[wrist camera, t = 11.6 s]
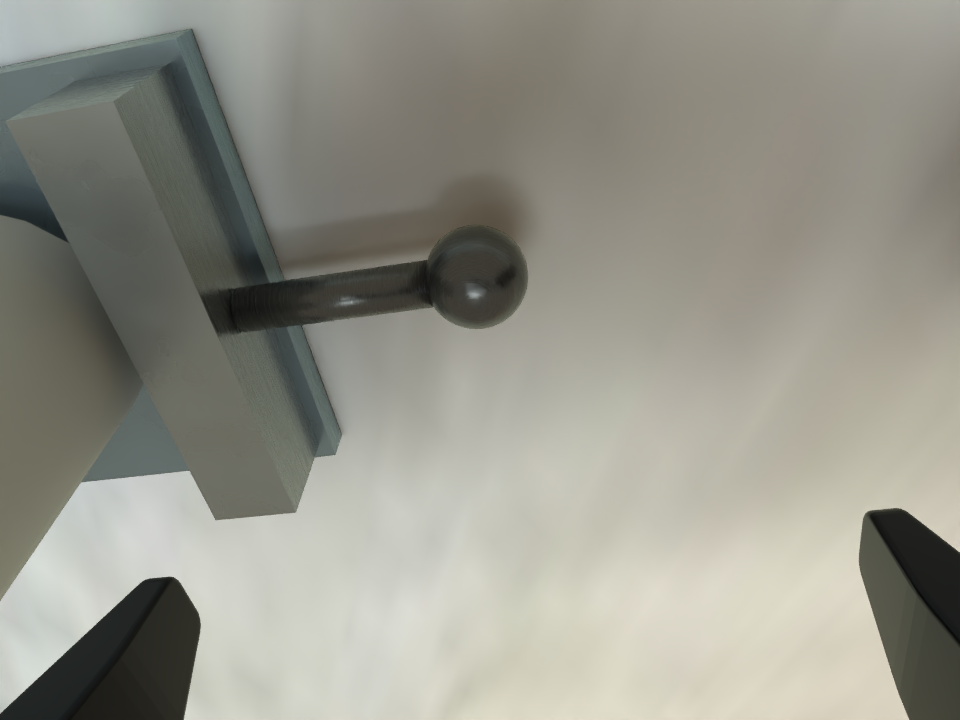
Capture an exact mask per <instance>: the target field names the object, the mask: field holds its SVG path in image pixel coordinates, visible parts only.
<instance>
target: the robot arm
mask: <svg viewBox="0 0 960 720" xmlns="http://www.w3.org/2000/svg"><path fill="white" fill-rule="evenodd" d="M859 566H860V571H861V575H862V579H863V582H864V585H865V588H866V592H867V595H868V598H869V601H870V605H871V608H872V611H873V614H874V617H875V621H876V624H877V627H878V630H879V633H880V637H881V640H882V643H883V646H884V649H885V653H886V656H887V659H888V662H889V665H890V669H891V672H892V675H893V678H894V681H895V684H896V687H897V690H898V693H899V696H900V698H901V701H902V703H903V705H904V708H905V710H906V713H907V715H908V717H909V720H960V552H958V551H957V550H956V549H955V548H953V547H952V546H951V545H949V544H948V543H947V542H945V541H944V540H943V539H942V538H940V537H939V536H938V535H936V534H935V533H934V532H933V531H931V530H930V529H929V528H927V527H926V526H925V525H924V524H922V523H921V522H920V521H918V520H917V519H916V518H914V517H913V516H912V515H911V514H909V513H908V512H906V511H905V510H902V509H899V508H892V509H882V510H871V511H868V512H867V513H866V514H865V515H864V518H863V524H862V533H861V542H860V550H859ZM200 627H201V623H200V617H199V614H198V612H197V610H196V608H195V606H194V605H193V603H192V601H191V600H190V598H189V596H188V595H187V593H186V592H185V590H184V588H183V587H182V585H181V583H180V582H179V581H178V580H177V579H175V578H174V577H162V578H151V579H147V580H145V581H143V582H141V583H140V584H139V585H138V586H137V587H136V588H135V589H134V590H132V591H131V592H130V593H129V594H128V595H127V596H126V597H125V598H124V599H123V600H122V601H121V602H120V603H119V604H117V605H116V606H115V607H114V608H113V609H112V610H111V611H110V612H109V613H108V614H107V615H106V616H105V617H103V618H102V619H101V620H100V621H99V622H98V623H97V624H96V625H95V626H94V627H93V628H92V629H91V630H90V631H88V632H87V633H86V634H85V635H84V636H83V637H82V638H81V639H80V640H79V641H78V642H77V643H76V644H75V645H73V646H72V647H71V648H70V649H69V650H68V651H67V652H66V653H65V654H64V655H63V656H62V657H61V658H60V659H58V660H57V661H56V662H55V663H54V664H53V665H52V666H51V667H50V668H49V669H48V670H47V671H46V672H44V673H43V674H42V675H41V676H40V677H39V678H38V679H37V680H36V681H35V682H34V683H33V684H32V685H31V686H29V687H28V688H27V689H26V690H25V691H24V692H23V693H22V694H21V695H20V696H19V697H18V698H17V699H16V700H14V701H13V702H12V703H11V704H10V705H9V706H8V707H7V708H6V709H5V710H4V711H3V712H2V713H1V714H0V720H184V715H185V710H186V705H187V699H188V694H189V689H190V683H191V678H192V673H193V667H194V662H195V657H196V651H197V646H198V641H199V635H200Z"/></svg>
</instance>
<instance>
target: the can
mask: <svg viewBox="0 0 960 720" xmlns="http://www.w3.org/2000/svg"><path fill="white" fill-rule="evenodd" d="M143 384H144V383H143V381H142V379H141V378H140V376H139V374H138V372H137V370H136V368H135V366H134V364H133V362H132V361H131V359H130V357H129V355H128V353H127V351H126V349H125V347H124V345H123V343H122V342H121V340H120V338H119V336H118V334H117V332H116V330H115V328H114V326H113V325H112V323H111V321H110V319H109V317H108V315H107V313H106V311H105V309H104V307H103V306H102V304H101V302H100V300H99V298H98V296H97V294H96V292H95V290H94V289H93V287H92V285H91V283H90V281H89V279H88V277H87V275H86V273H85V271H84V270H83V268H82V266H81V264H80V262H79V260H78V258H77V256H76V254H75V253H74V251H73V249H72V247H71V245H70V244H69V243H67V242H65V241H63V240H62V239H60V238H58V237H56V236H54V235H52V234H50V233H48V232H46V231H44V230H42V229H40V228H38V227H36V226H34V225H32V224H30V223H28V222H27V221H23V220H19V219H15V218H11V217H7V216H3V215H0V601H1V599H2V598H3V596H4V595H5V593H6V592H7V590H8V589H9V587H10V586H11V584H12V583H13V581H14V580H15V578H16V577H17V576H18V574H19V573H20V571H21V570H22V568H23V567H24V565H25V564H26V562H27V561H28V559H29V558H30V556H31V555H32V553H33V552H34V551H35V549H36V548H37V546H38V545H39V543H40V542H41V540H42V539H43V537H44V536H45V534H46V533H47V531H48V530H49V528H50V527H51V525H52V524H53V523H54V521H55V520H56V518H57V517H58V515H59V514H60V512H61V511H62V509H63V508H64V506H65V505H66V503H67V502H68V500H69V499H70V498H71V496H72V495H73V493H74V492H75V490H76V489H77V487H78V486H79V484H80V483H81V481H82V480H83V478H84V477H85V475H86V474H87V473H88V471H89V470H90V468H91V467H92V465H93V464H94V462H95V461H96V459H97V458H98V456H99V455H100V453H101V452H102V450H103V449H104V448H105V446H106V445H107V443H108V442H109V440H110V439H111V437H112V436H113V434H114V433H115V431H116V430H117V428H118V427H119V425H120V424H121V423H122V421H123V420H124V418H125V417H126V415H127V414H128V412H129V411H130V409H131V408H132V406H133V405H134V403H135V401H136V399H137V397H138V395H139V393H140V391H141V388H142V386H143Z"/></svg>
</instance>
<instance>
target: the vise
mask: <svg viewBox="0 0 960 720" xmlns="http://www.w3.org/2000/svg"><path fill="white" fill-rule="evenodd" d="M0 215H3V216H7V217H11V218H15V219H19V220H23V221H27V222H28V223H30V224H32V225H34V226H36V227H38V228H40V229H42V230H44V231H46V232H48V233H50V234H52V235H54V236H56V237H58V238H60V239H62V240H63V241H65V242H67V243H69V244H70V245H71V247H72V249H73V251H74V253H75V254H76V256H77V258H78V260H79V262H80V264H81V266H82V268H83V270H84V271H85V273H86V275H87V277H88V279H89V281H90V283H91V285H92V287H93V289H94V290H95V292H96V294H97V296H98V298H99V300H100V302H101V304H102V306H103V307H104V309H105V311H106V313H107V315H108V317H109V319H110V321H111V323H112V325H113V326H114V328H115V330H116V332H117V334H118V336H119V338H120V340H121V342H122V343H123V345H124V347H125V349H126V351H127V353H128V355H129V357H130V359H131V361H132V362H133V364H134V366H135V368H136V370H137V372H138V374H139V376H140V378H141V379H142V381H143V383H144V384H143V386H142V388H141V391H140V393H139V395H138V397H137V399H136V401H135V403H134V405H133V406H132V408H131V409H130V411H129V412H128V414H127V415H126V417H125V418H124V420H123V421H122V423H121V424H120V425H119V427H118V428H117V430H116V431H115V433H114V434H113V436H112V437H111V439H110V440H109V442H108V443H107V445H106V446H105V448H104V449H103V450H102V452H101V453H100V455H99V456H98V458H97V459H96V461H95V462H94V464H93V465H92V467H91V468H90V470H89V471H88V473H87V474H86V475H85V477H84V478H83V480H82V481H81V482H88V481H97V480H106V479H116V478H125V477H134V476H144V475H153V474H162V473H171V472H181V471H190V472H191V474H192V476H193V478H194V480H195V482H196V484H197V486H198V487H199V489H200V491H201V493H202V495H203V497H204V499H205V501H206V503H207V504H208V506H209V508H210V510H211V512H212V514H213V516H214V518H215V520H223V519H233V518H243V517H254V516H264V515H274V514H285V513H295V512H296V511H297V508H298V505H299V502H300V499H301V496H302V493H303V490H304V487H305V484H306V481H307V478H308V476H309V473H310V470H311V467H312V464H313V461H314V458H315V457H321V456H330V455H336V451H337V448H338V445H339V442H340V439H341V432H340V429H339V427H338V424H337V421H336V418H335V416H334V413H333V410H332V408H331V405H330V402H329V400H328V397H327V394H326V391H325V389H324V386H323V383H322V381H321V378H320V375H319V373H318V370H317V367H316V365H315V362H314V359H313V356H312V354H311V351H310V348H309V346H308V343H307V340H306V338H305V335H304V332H303V329H302V327H301V325H305V324H312V323H320V322H327V321H335V320H342V319H349V318H357V317H364V316H372V315H379V314H387V313H394V312H401V311H409V310H416V309H424V308H431V307H434V308H435V309H436V310H437V311H438V312H439V313H440V314H441V315H442V316H443V317H444V318H445V319H447V320H448V321H450V322H451V323H453V324H455V325H458V326H461V327H464V328H470V329H483V328H489V327H492V326H495V325H497V324H499V323H501V322H503V321H504V320H506V319H507V318H509V317H510V316H511V315H512V314H513V313H514V312H515V311H516V310H517V308H518V307H519V306H520V304H521V302H522V300H523V298H524V296H525V293H526V289H527V284H528V271H527V265H526V261H525V258H524V256H523V254H522V252H521V250H520V248H519V247H518V246H517V244H516V243H515V242H514V241H513V240H512V239H511V238H510V237H509V236H507V235H506V234H505V233H503V232H501V231H500V230H497V229H495V228H492V227H489V226H483V225H468V226H464V227H460V228H457V229H455V230H453V231H451V232H450V233H448V234H447V235H445V236H444V237H443V238H441V239H440V240H439V241H438V243H437V244H436V245H435V246H434V248H433V249H432V251H431V253H430V255H429V257H428V260H425V261H418V262H411V263H404V264H397V265H390V266H383V267H376V268H369V269H362V270H355V271H348V272H341V273H334V274H327V275H320V276H313V277H307V278H300V279H293V280H286V281H284V278H283V276H282V273H281V270H280V267H279V265H278V262H277V259H276V257H275V254H274V251H273V249H272V246H271V243H270V240H269V238H268V235H267V232H266V230H265V227H264V224H263V222H262V219H261V216H260V213H259V211H258V208H257V205H256V203H255V200H254V197H253V195H252V192H251V189H250V187H249V184H248V181H247V178H246V176H245V173H244V170H243V168H242V165H241V162H240V160H239V157H238V154H237V151H236V149H235V146H234V143H233V141H232V138H231V135H230V133H229V130H228V127H227V124H226V122H225V119H224V116H223V114H222V111H221V108H220V106H219V103H218V100H217V97H216V95H215V92H214V89H213V87H212V84H211V81H210V79H209V76H208V73H207V71H206V68H205V65H204V62H203V60H202V57H201V54H200V52H199V49H198V46H197V44H196V41H195V38H194V35H193V33H192V30H191V29H189V30H184V31H179V32H174V33H169V34H164V35H159V36H153V37H148V38H143V39H138V40H133V41H128V42H123V43H118V44H113V45H108V46H103V47H98V48H93V49H88V50H83V51H78V52H73V53H68V54H63V55H58V56H53V57H48V58H43V59H38V60H33V61H28V62H23V63H18V64H13V65H8V66H3V67H0Z"/></svg>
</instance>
